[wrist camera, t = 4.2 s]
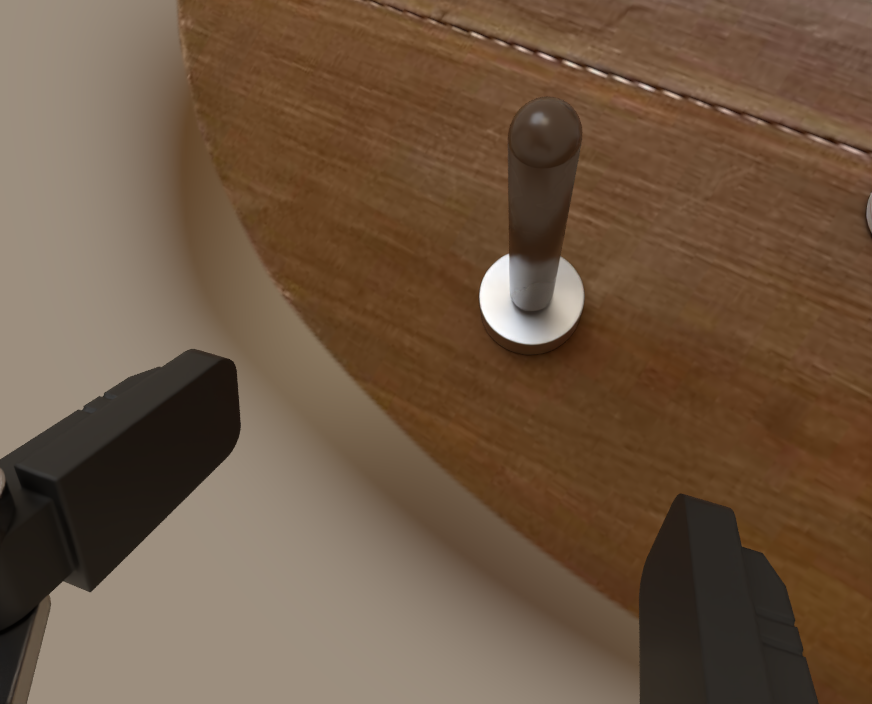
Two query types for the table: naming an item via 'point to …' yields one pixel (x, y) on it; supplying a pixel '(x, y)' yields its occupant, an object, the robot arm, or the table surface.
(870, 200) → the pill bottle
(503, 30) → the table surface
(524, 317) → the espresso tamper
